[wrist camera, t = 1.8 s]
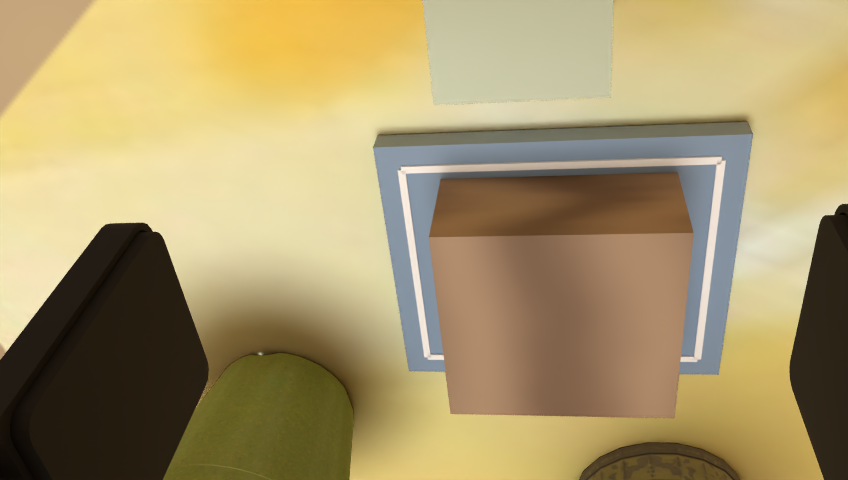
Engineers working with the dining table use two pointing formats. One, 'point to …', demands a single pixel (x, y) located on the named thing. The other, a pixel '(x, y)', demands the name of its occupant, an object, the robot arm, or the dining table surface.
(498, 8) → the sage pillar block
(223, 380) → the plant pot
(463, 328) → the walnut plinth
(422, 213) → the blueprint mat
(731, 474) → the thermos
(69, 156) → the dining table surface
